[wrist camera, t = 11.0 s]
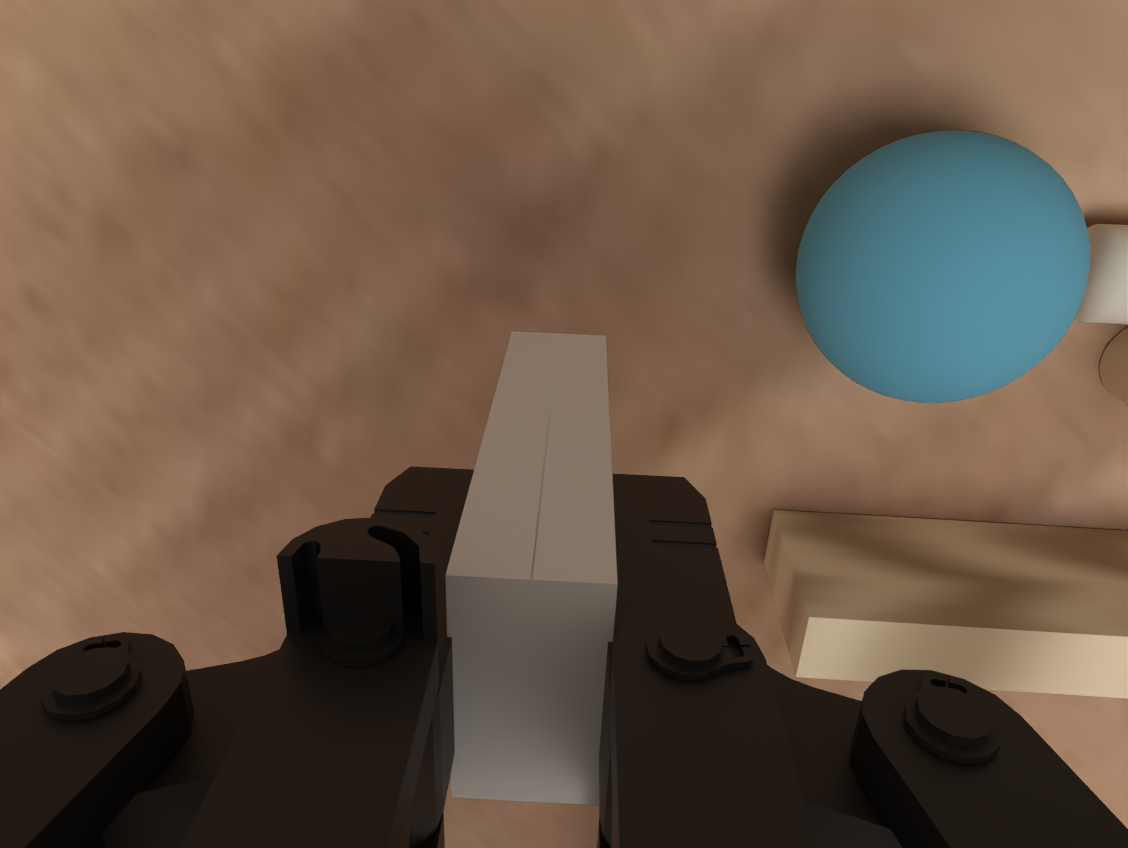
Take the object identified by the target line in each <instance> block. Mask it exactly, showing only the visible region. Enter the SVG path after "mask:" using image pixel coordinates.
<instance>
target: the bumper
mask: <svg viewBox="0 0 1128 848" xmlns="http://www.w3.org/2000/svg"><path fill="white" fill-rule="evenodd" d="M764 566H765V569H766V573H767V577H768V580H769V584H770V587H771V591H772V594H773V598H774V601H775V605H776V608H777V612H778V615H779V619H780V622H781V626H782V630H783V633H784V637H785V640H786V644H787V647H788V651H789V654H790V658H791V661H792V665H793V668H794V672H795V676H796V677H803V678H819V679H835V680H850V681H866V682H874V681H875V680H876V679H877V678H878V677H879V676H883V675H886V674H889V673H892V672H895V671H898V670H901V669H906V670H933V671H936V672H940V673H944V674H948V675H951V676H955V677H959V678H962V679H965V680H967V681H969V682H971V683H973V684H975V685H977V686H979V687H981V688H983V689H990V690H1006V691H1022V692H1037V693H1053V694H1068V695H1084V696H1099V697H1115V698H1128V531H1126V530H1109V529H1092V528H1075V527H1058V526H1041V525H1024V524H1007V523H990V522H973V521H956V520H939V519H922V518H905V517H888V516H871V515H854V514H837V513H820V512H803V511H786V510H773V515H772V520H771V526H770V531H769V537H768V542H767V548H766V553H765V559H764Z"/></svg>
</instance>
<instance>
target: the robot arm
mask: <svg viewBox="0 0 1128 848" xmlns="http://www.w3.org/2000/svg"><path fill="white" fill-rule="evenodd" d="M277 561H278V569H279V576H280V584H281V591H282V599H283V607H284V614H285V622H286V629H287V636H286V638H285V640H284V642H283V644H282V646H281V648H280V649H279V650H277V651H275V652H272V653H270V654H267V655H265V656H261V657H257V658H253V659H249V660H245V661H241V662H235V663H229V664H224V665H218V666H212V667H207V668H201V669H195V670H189V671H186V669H185V665H184V660H183V659H182V657H181V656H180V654H179V652H178V651H177V649H176V648H175V646H174V644H172V643H169V642H167V641H165V640H163V639H161V638H159V637H157V636H154V635H151V634H139V633H126V632H122V633H116V634H110V635H104V636H98V637H91V638H88V639H85V640H83V641H80V642H77V643H75V644H72V645H69V646H67V647H64V648H61V649H59V650H56V651H55V652H53V653H51V654H50V655H48V656H47V657H45V658H43V659H42V660H40V661H38V662H37V663H35V664H34V665H32V666H30V667H29V668H27V669H26V670H25V671H23V672H22V673H21V674H20V675H18V676H17V677H16V678H14V679H13V680H12V681H11V682H9V683H8V684H7V685H6V686H4V687H3V688H2V689H1V690H0V848H445V846H444V816H443V810H444V805H445V800H446V794H447V789H448V784H449V779H450V774H451V797H452V798H470V799H489V800H508V801H526V802H545V803H563V804H582V805H599V812H600V817H599V829H598V841H597V848H1128V829H1127V828H1126V827H1125V826H1124V825H1123V824H1122V822H1121V821H1120V820H1119V819H1118V818H1117V817H1116V816H1115V815H1114V814H1113V813H1112V812H1111V811H1110V810H1109V809H1108V808H1107V807H1106V806H1105V804H1104V803H1103V802H1102V801H1101V800H1100V799H1099V798H1098V797H1097V796H1096V795H1095V794H1094V793H1093V792H1092V791H1091V790H1090V789H1089V787H1088V786H1087V785H1086V784H1085V783H1084V782H1083V781H1082V780H1081V779H1080V778H1079V777H1078V776H1077V775H1076V774H1075V773H1074V772H1073V771H1072V769H1071V768H1070V767H1069V766H1068V765H1067V764H1066V763H1065V762H1064V761H1063V760H1062V759H1061V758H1060V757H1059V756H1058V755H1057V754H1056V752H1055V751H1054V750H1053V749H1052V748H1051V747H1050V746H1049V745H1048V744H1047V743H1046V742H1045V741H1044V740H1043V739H1042V738H1041V737H1040V736H1039V734H1038V733H1037V732H1036V731H1035V730H1034V729H1033V728H1032V727H1031V726H1030V725H1029V724H1028V723H1027V722H1026V721H1025V720H1024V719H1023V717H1022V716H1020V715H1019V714H1018V713H1017V712H1015V711H1014V710H1013V709H1012V708H1011V707H1009V706H1008V705H1007V704H1006V703H1004V702H1003V701H1002V700H1001V699H1000V698H998V697H997V696H996V695H994V694H992V693H991V692H989V691H987V690H985V689H983V688H981V687H979V686H977V685H975V684H973V683H971V682H969V681H967V680H965V679H962V678H959V677H955V676H951V675H948V674H944V673H940V672H936V671H933V670H906V669H901V670H898V671H895V672H892V673H889V674H886V675H883V676H879V677H878V678H877V679H876V680H875V681H874V682H873V683H872V684H871V685H870V686H869V688H868V689H867V690H866V691H865V692H864V696H863V699H862V701H859V700H856V699H852V698H849V697H845V696H842V695H838V694H835V693H831V692H828V691H824V690H821V689H817V688H814V687H811V686H808V685H806V684H803V683H800V682H798V681H795V680H792V679H790V678H788V677H787V676H785V675H783V674H781V673H779V672H778V671H776V670H774V669H772V668H771V667H769V666H768V665H767V663H766V659H765V657H764V655H763V653H762V652H761V650H760V648H759V646H758V644H757V643H756V641H755V639H754V638H753V637H752V636H751V635H749V634H748V633H747V632H746V631H744V630H743V629H742V628H741V627H740V626H738V625H737V624H736V620H735V616H734V612H733V608H732V604H731V600H730V596H729V591H728V587H727V583H726V579H725V575H724V571H723V567H722V563H721V559H720V555H719V551H718V548H716V539H715V535H714V531H713V528H711V519H710V515H709V511H708V507H707V503H706V499H705V498H704V497H703V496H702V495H701V494H700V493H699V492H698V491H697V490H696V489H695V488H694V487H693V486H692V485H691V484H690V483H689V482H688V481H687V480H686V479H685V478H684V477H668V476H648V475H627V474H612V457H611V436H610V415H609V394H608V373H607V352H606V336H602V335H581V334H560V333H539V332H518V331H512V333H511V337H510V340H509V344H508V348H507V351H506V355H505V359H504V362H503V366H502V370H501V373H500V377H499V381H498V384H497V388H496V392H495V395H494V399H493V403H492V406H491V410H490V414H489V417H488V421H487V425H486V428H485V432H484V436H483V439H482V443H481V447H480V450H479V454H478V458H477V461H476V465H475V469H474V470H469V469H448V468H428V467H409V468H408V469H407V470H405V471H404V472H403V473H401V474H400V475H399V476H398V477H396V478H395V479H394V480H392V481H391V482H390V483H388V484H387V485H386V486H385V488H384V490H383V492H382V494H381V496H380V498H379V501H378V503H377V505H376V507H375V512H374V514H372V516H371V518H357V519H344V520H340V521H336V522H332V523H329V524H325V525H321V526H317V527H315V528H313V529H311V530H309V531H307V532H306V533H304V534H302V535H300V536H298V537H296V538H294V539H292V540H291V542H290V543H289V544H288V545H287V546H286V547H285V548H284V549H283V550H282V551H281V552H280V553H279V554H278V555H277Z"/></svg>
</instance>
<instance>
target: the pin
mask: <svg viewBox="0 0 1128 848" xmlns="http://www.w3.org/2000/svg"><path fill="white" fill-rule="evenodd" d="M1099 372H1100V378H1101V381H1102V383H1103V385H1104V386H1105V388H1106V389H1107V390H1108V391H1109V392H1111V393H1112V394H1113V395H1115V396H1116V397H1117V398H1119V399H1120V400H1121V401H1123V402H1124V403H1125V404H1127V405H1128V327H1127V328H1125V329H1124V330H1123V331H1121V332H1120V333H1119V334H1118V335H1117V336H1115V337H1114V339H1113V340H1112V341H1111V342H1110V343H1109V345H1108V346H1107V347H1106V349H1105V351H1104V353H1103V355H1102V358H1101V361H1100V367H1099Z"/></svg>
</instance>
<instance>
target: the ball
mask: <svg viewBox="0 0 1128 848" xmlns="http://www.w3.org/2000/svg"><path fill="white" fill-rule="evenodd" d="M1089 269H1090V243H1089V235H1088V230H1087V226H1086V223H1085V219H1084V216H1083V213H1082V211H1081V209H1080V207H1079V205H1078V202H1077V200H1076V198H1075V196H1074V194H1073V192H1072V191H1071V190H1070V188H1069V187H1068V185H1067V184H1066V182H1065V181H1064V179H1063V178H1062V177H1061V176H1060V175H1059V174H1058V173H1057V172H1056V171H1055V170H1054V169H1053V168H1052V167H1051V166H1050V165H1049V164H1048V163H1046V162H1045V161H1044V160H1042V159H1041V158H1040V157H1038V156H1037V155H1036V154H1034V153H1033V152H1031V151H1030V150H1028V149H1026V148H1024V147H1022V146H1020V145H1019V144H1017V143H1015V142H1012V141H1010V140H1007V139H1004V138H1001V137H998V136H995V135H991V134H986V133H981V132H974V131H961V130H949V131H933V132H928V133H922V134H917V135H913V136H910V137H907V138H903V139H900V140H897V141H895V142H892V143H890V144H888V145H886V146H883V147H881V148H879V149H877V150H875V151H874V152H872V153H870V154H869V155H867V156H865V157H864V158H862V159H861V160H859V161H858V162H857V163H856V164H854V165H853V166H852V167H850V168H849V169H848V170H846V171H845V172H844V173H843V174H842V175H841V176H840V177H839V178H838V179H837V180H836V181H835V182H834V183H833V184H832V186H831V187H830V188H829V189H828V191H827V192H826V193H825V194H824V195H823V197H822V198H821V200H820V201H819V203H818V205H817V206H816V208H815V209H814V211H813V213H812V215H811V217H810V219H809V221H808V223H807V225H806V228H805V230H804V233H803V237H802V240H801V243H800V246H799V252H798V257H797V263H796V290H797V299H798V303H799V307H800V311H801V314H802V317H803V319H804V322H805V324H806V327H807V329H808V332H809V334H810V335H811V337H812V339H813V340H814V342H815V344H816V346H817V347H818V348H819V349H820V351H821V352H822V353H823V354H824V356H825V357H826V358H827V359H828V360H829V361H830V362H831V363H832V364H833V365H834V366H835V367H836V368H837V369H838V370H839V371H841V372H842V373H843V374H845V375H846V376H847V377H849V378H850V379H851V380H853V381H854V382H856V383H858V384H860V385H862V386H863V387H865V388H867V389H869V390H872V391H874V392H877V393H879V394H882V395H885V396H889V397H893V398H896V399H900V400H905V401H913V402H920V403H941V402H952V401H959V400H964V399H968V398H973V397H976V396H979V395H982V394H985V393H989V392H991V391H993V390H996V389H998V388H1000V387H1002V386H1005V385H1007V384H1008V383H1010V382H1012V381H1014V380H1015V379H1017V378H1019V377H1020V376H1022V375H1024V374H1025V373H1026V372H1028V371H1029V370H1030V369H1032V368H1033V367H1034V366H1036V365H1037V364H1038V363H1039V362H1040V361H1041V360H1042V359H1043V358H1044V357H1046V356H1047V355H1048V354H1049V353H1050V352H1051V351H1052V349H1053V348H1054V347H1055V346H1056V345H1057V344H1058V342H1059V341H1060V340H1061V339H1062V338H1063V336H1064V335H1065V333H1066V331H1067V330H1068V328H1069V327H1070V325H1071V324H1072V322H1073V320H1074V318H1075V316H1076V314H1077V312H1078V310H1079V308H1080V305H1081V302H1082V299H1083V296H1084V293H1085V290H1086V286H1087V280H1088V274H1089Z"/></svg>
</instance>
